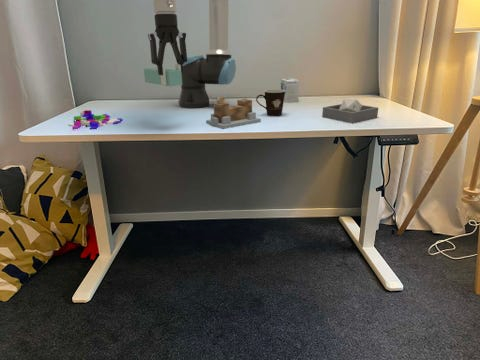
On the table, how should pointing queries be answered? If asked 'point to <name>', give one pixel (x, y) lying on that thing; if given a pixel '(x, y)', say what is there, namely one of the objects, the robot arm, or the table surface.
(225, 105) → the wooden grain block
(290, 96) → the light bulb box
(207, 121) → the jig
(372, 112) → the dice tray
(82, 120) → the building block set
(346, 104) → the white irregular lump
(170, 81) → the green rectangular block
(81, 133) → the table surface
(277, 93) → the coffee mug
